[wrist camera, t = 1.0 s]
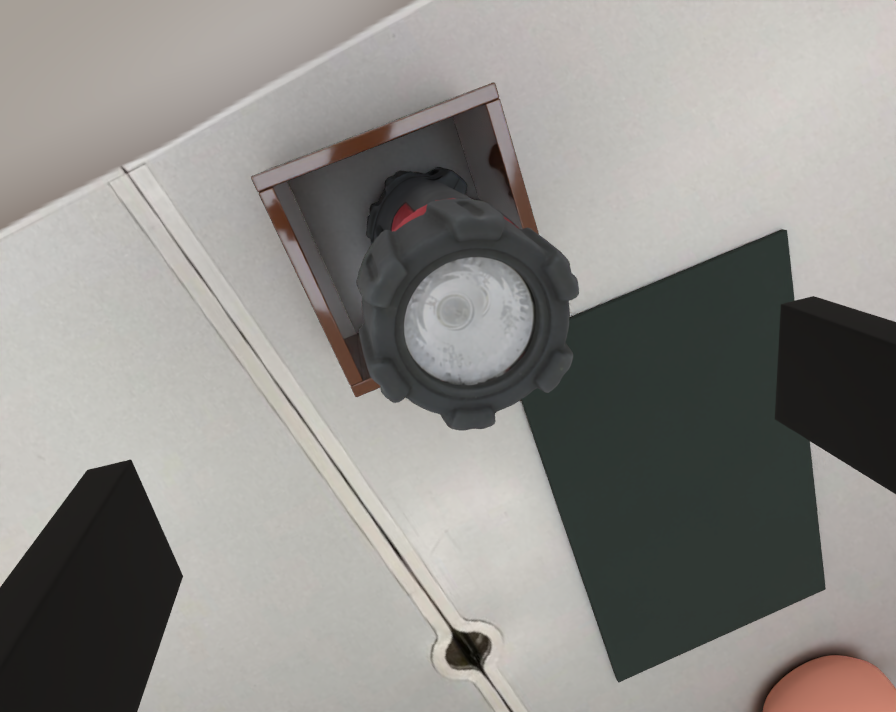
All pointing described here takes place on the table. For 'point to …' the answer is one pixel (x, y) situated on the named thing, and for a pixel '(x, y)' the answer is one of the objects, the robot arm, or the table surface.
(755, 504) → the mat
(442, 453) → the table surface
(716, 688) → the table surface
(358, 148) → the brown open box
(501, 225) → the flashlight
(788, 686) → the teapot
